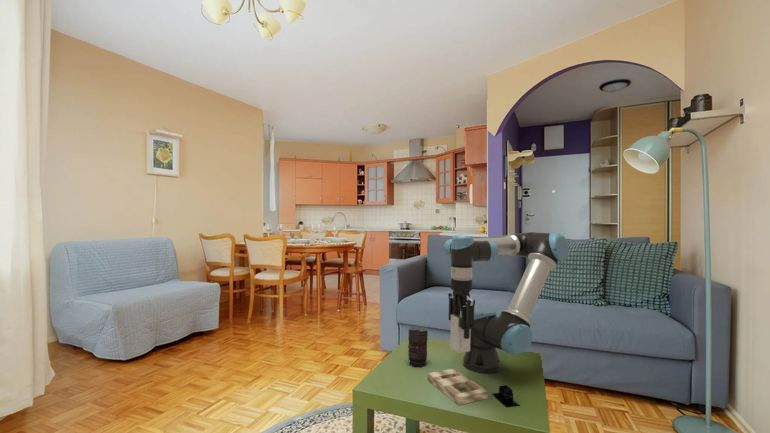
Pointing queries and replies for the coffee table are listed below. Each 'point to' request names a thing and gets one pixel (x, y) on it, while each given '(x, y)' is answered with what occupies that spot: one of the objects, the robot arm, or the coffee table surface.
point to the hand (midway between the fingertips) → (460, 344)
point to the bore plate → (457, 386)
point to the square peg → (457, 334)
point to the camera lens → (417, 346)
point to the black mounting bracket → (506, 396)
